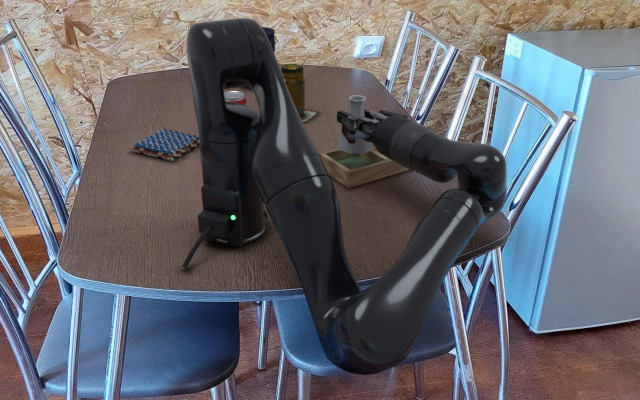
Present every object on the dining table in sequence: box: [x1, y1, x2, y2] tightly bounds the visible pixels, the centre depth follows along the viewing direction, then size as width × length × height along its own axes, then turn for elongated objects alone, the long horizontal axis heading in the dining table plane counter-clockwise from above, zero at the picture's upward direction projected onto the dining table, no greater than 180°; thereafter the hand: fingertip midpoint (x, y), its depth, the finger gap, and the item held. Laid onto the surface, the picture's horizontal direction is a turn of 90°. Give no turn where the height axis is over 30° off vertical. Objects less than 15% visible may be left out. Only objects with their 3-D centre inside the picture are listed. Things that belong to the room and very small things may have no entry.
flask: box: [336, 94, 373, 154], centre depth 107 cm, size 7×7×10 cm
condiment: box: [280, 63, 317, 123], centre depth 136 cm, size 7×8×12 cm
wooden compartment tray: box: [318, 143, 411, 189], centre depth 113 cm, size 10×19×3 cm, turn 124°
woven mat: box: [132, 128, 200, 162], centre depth 119 cm, size 10×11×2 cm
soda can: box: [224, 90, 248, 106], centre depth 117 cm, size 5×5×12 cm
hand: (347, 113), depth 108 cm, fingers closed on flask, 3 cm apart
